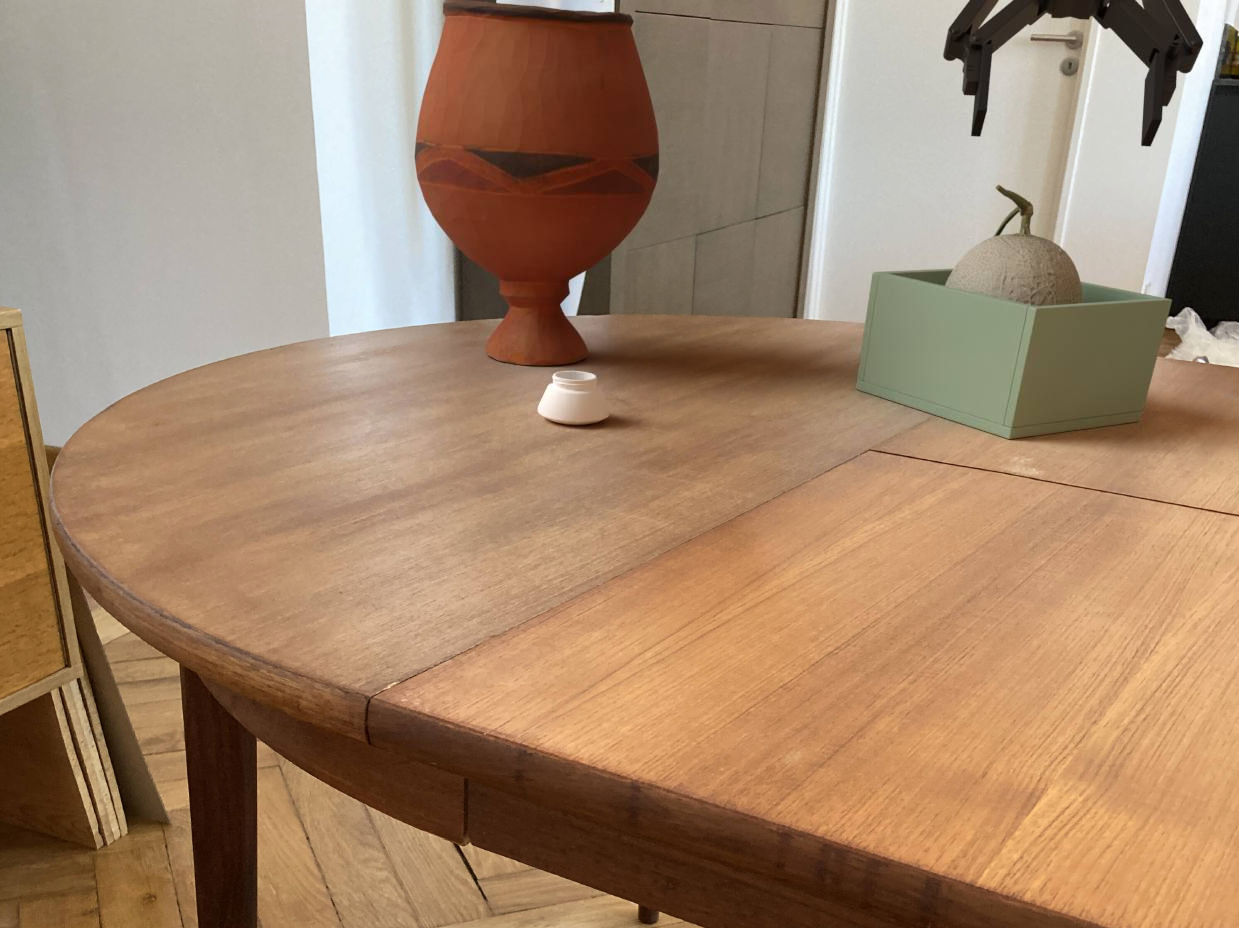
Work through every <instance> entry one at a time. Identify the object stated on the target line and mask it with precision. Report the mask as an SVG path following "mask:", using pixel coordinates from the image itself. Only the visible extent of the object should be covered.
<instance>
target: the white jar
mask: <svg viewBox="0 0 1239 928" xmlns="http://www.w3.org/2000/svg"><path fill="white" fill-rule="evenodd" d="M551 377H552V382H551V383H549V384H548V385H547V386H546V389H545V391H544V393H543V395H542V397H541V399H540V402H539V404H538V406H537V414H539V415H540V416H542V417H543V418H545V419H546V420H549V421H552V422H555V423H557V424H563V425H573V426H581V425H583V426H585V425H589V424H596V423H599V422H600V421H603V420H605V419H607V418H609V416H610V405H609V403H608V401H607V398H606V396H605V393H604V391H603V388H602V387H601V386H599V385H598V384H597V382H598V379H597V375H596V374H594V373H591V372H589V371H588V372H587V371H581V370H561V371H557V372H554V373H553V375H552V376H551Z"/></svg>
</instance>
